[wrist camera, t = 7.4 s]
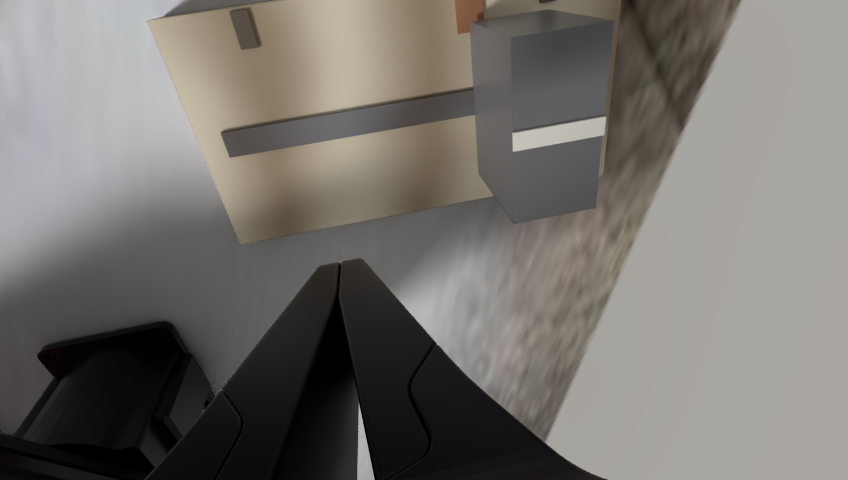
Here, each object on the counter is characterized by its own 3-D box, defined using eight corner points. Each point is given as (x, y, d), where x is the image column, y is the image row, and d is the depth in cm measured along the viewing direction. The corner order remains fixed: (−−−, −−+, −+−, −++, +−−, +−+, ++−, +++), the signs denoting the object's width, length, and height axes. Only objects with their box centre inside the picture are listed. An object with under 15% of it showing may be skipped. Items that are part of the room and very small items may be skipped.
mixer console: (246, 227, 21) (239, 247, 19) (161, 17, 16) (144, 21, 14) (587, 163, 22) (604, 177, 21) (605, -50, 17) (630, -52, 16)
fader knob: (478, 174, 19) (514, 225, 15) (469, 21, 16) (512, 37, 12) (544, 161, 19) (596, 209, 15) (548, 9, 16) (616, 20, 12)
